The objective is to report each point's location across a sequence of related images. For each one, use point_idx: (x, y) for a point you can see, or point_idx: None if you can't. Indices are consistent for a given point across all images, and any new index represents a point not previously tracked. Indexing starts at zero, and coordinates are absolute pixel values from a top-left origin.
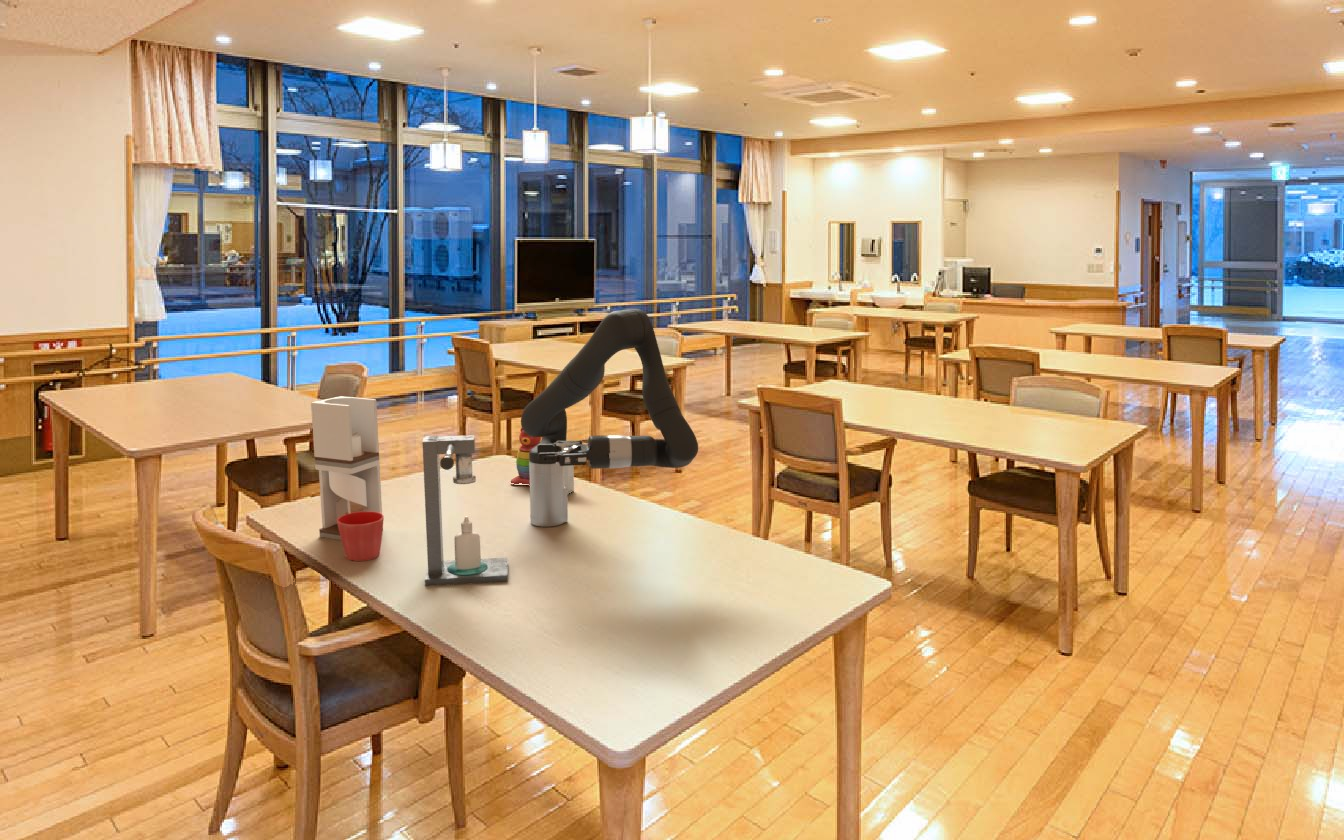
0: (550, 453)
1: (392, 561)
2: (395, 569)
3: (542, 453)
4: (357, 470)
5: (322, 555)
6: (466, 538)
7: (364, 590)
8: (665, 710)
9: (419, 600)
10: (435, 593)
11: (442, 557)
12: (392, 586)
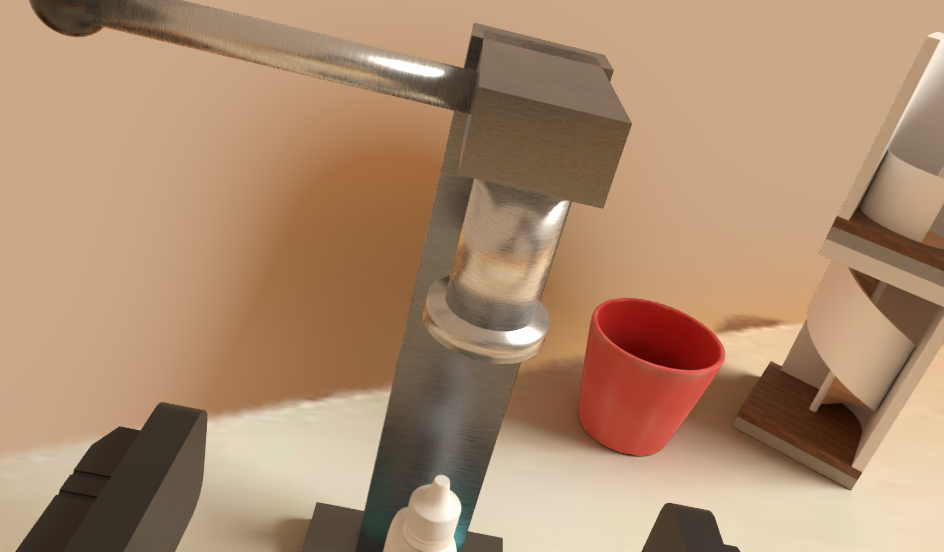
0: (92, 513)
1: (571, 475)
2: (497, 472)
3: (147, 426)
4: (849, 261)
5: None
6: (387, 542)
7: (341, 395)
8: None
9: None
10: (225, 536)
11: None
12: (347, 448)
